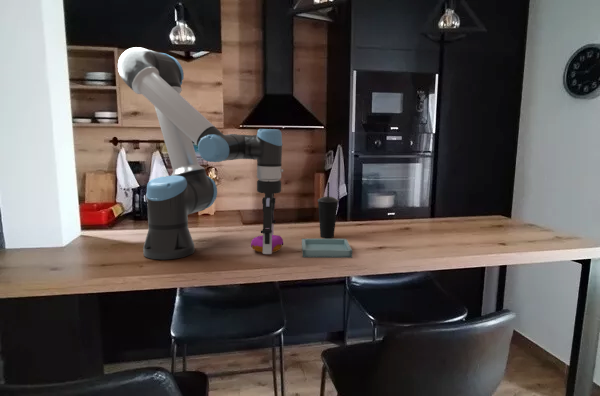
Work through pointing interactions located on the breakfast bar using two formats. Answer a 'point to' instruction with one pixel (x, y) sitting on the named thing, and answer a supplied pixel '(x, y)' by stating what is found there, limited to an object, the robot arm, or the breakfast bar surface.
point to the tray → (326, 248)
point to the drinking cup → (327, 215)
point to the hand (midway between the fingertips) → (268, 248)
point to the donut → (258, 243)
